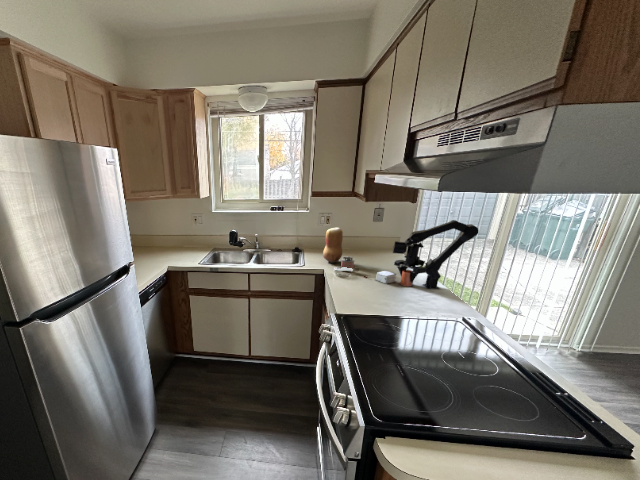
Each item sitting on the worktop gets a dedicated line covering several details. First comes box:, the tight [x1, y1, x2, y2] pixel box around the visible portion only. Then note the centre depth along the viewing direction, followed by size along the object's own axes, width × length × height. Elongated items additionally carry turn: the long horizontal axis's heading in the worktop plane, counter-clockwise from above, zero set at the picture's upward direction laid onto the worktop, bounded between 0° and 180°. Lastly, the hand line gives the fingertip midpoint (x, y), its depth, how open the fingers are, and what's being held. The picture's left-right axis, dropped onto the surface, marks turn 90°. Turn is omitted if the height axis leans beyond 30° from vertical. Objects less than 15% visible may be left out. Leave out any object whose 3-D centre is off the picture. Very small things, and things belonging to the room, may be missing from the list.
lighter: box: [340, 255, 355, 270], centre depth 211 cm, size 8×3×10 cm, turn 74°
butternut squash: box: [322, 227, 344, 263], centre depth 228 cm, size 14×13×25 cm
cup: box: [399, 269, 414, 287], centre depth 186 cm, size 6×6×8 cm
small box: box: [375, 270, 397, 285], centre depth 192 cm, size 8×8×5 cm
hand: (407, 280), depth 186 cm, fingers closed on cup, 6 cm apart
